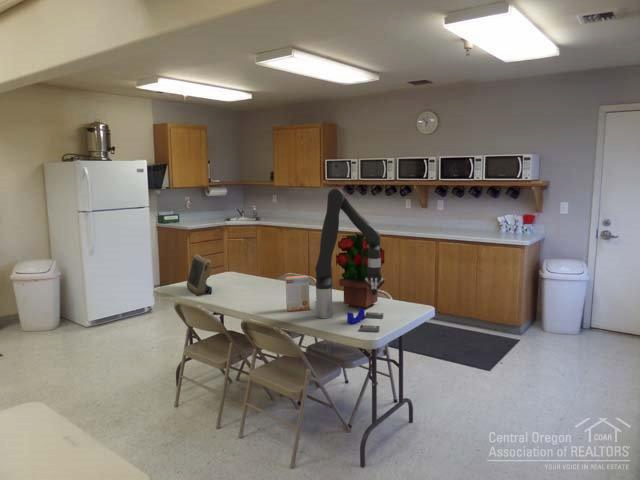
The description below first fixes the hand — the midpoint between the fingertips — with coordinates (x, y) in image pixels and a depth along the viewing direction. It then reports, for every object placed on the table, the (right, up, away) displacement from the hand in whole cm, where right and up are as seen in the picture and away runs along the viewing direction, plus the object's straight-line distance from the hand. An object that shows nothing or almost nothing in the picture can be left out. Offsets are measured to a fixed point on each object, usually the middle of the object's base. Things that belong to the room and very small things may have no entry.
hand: (374, 295), depth 277 cm
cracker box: (-45, -12, +20) cm, 50 cm away
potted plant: (-6, -10, +26) cm, 29 cm away
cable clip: (-10, -15, -5) cm, 19 cm away
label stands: (-2, -15, -10) cm, 18 cm away
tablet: (-119, -6, +73) cm, 140 cm away
